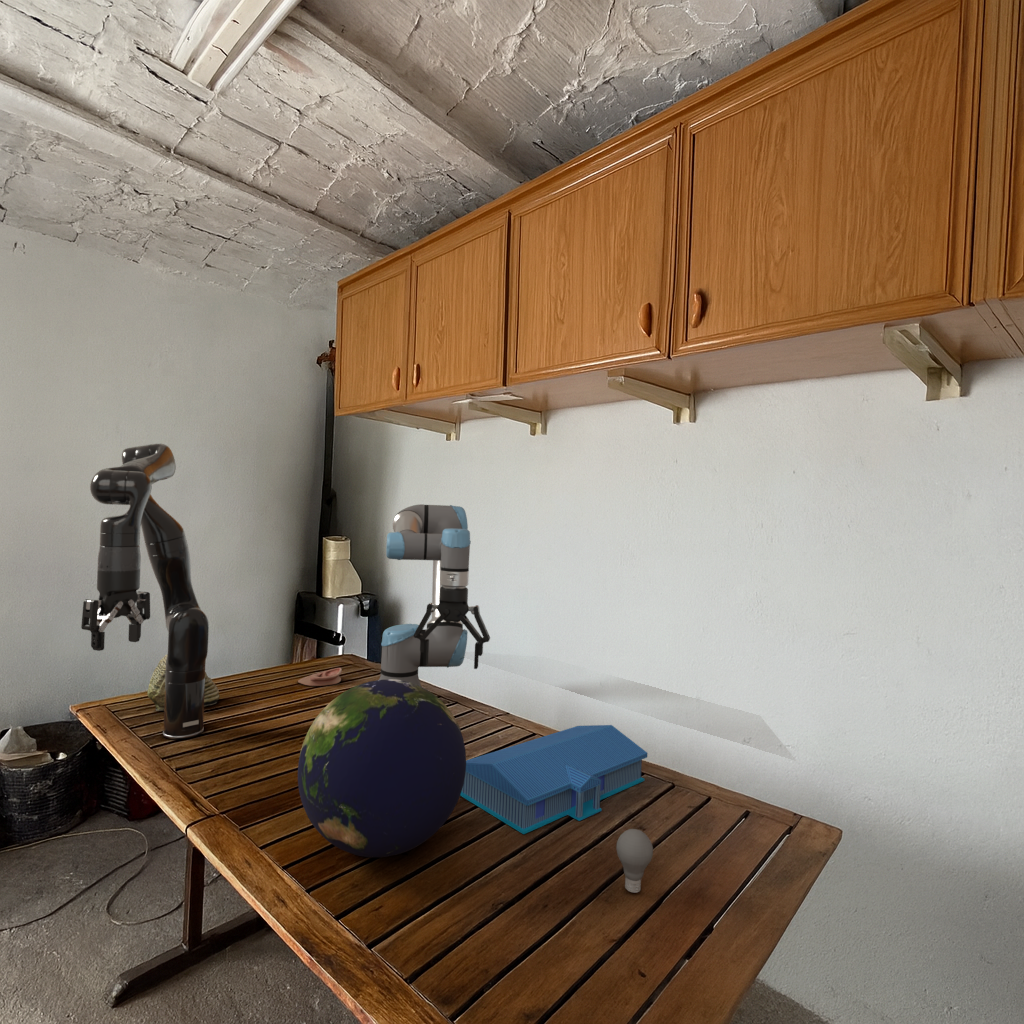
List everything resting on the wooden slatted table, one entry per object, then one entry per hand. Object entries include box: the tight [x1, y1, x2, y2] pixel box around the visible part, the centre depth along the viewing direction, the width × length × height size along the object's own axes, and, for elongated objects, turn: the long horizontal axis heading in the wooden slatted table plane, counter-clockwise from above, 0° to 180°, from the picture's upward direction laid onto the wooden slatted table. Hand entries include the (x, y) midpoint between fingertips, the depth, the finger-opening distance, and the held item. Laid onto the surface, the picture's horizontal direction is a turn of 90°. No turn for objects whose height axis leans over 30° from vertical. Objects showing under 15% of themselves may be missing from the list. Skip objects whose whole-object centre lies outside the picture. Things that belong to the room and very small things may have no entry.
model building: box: [460, 724, 649, 835], centre depth 142 cm, size 39×24×10 cm, turn 132°
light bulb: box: [615, 828, 654, 894], centre depth 106 cm, size 6×6×10 cm
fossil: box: [147, 654, 221, 712], centre depth 185 cm, size 9×18×15 cm, turn 132°
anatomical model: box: [297, 667, 343, 687], centre depth 214 cm, size 13×4×12 cm
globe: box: [297, 679, 467, 858], centre depth 116 cm, size 30×30×30 cm
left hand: (116, 645), depth 131 cm, fingers open, 8 cm apart
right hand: (450, 666), depth 169 cm, fingers open, 13 cm apart
